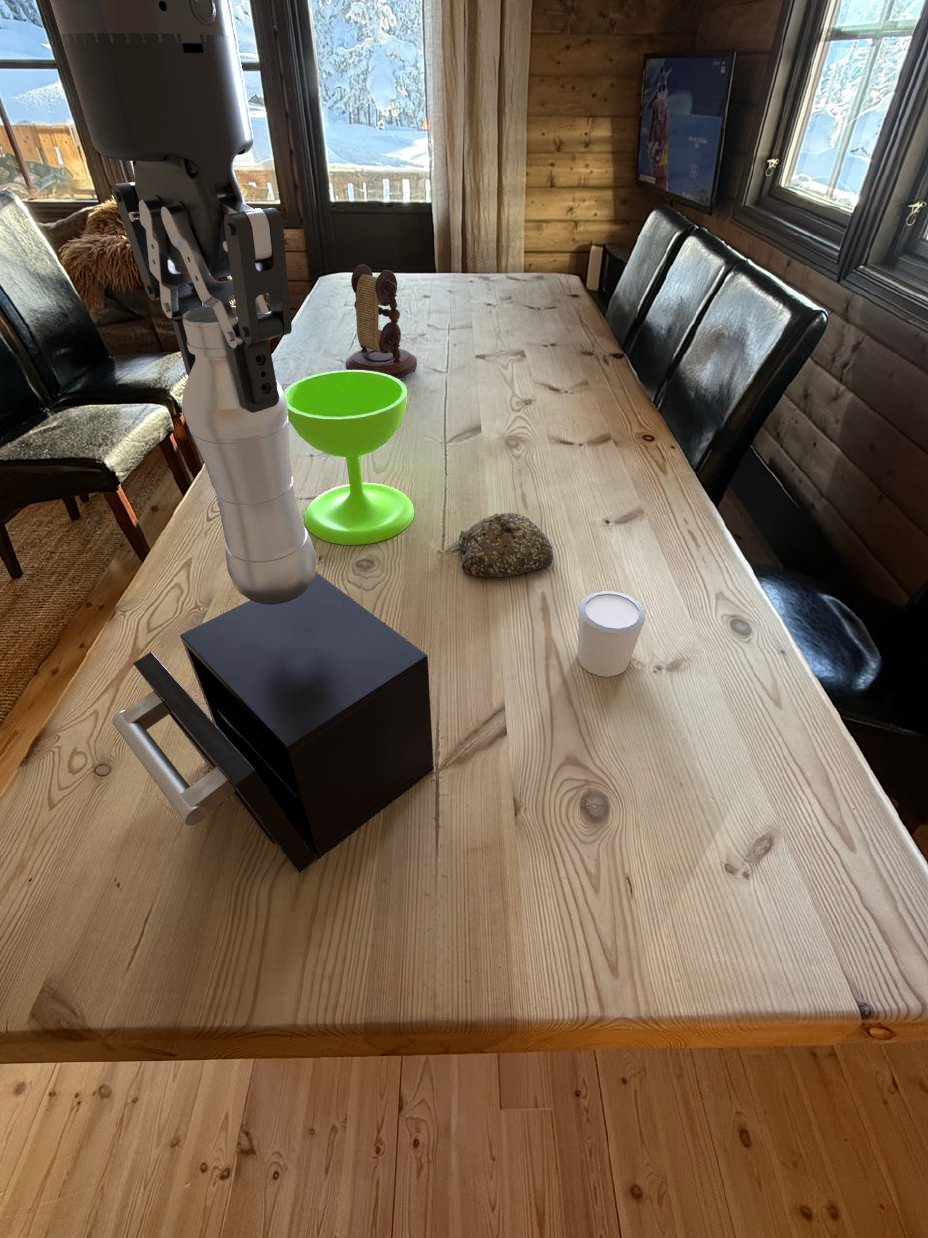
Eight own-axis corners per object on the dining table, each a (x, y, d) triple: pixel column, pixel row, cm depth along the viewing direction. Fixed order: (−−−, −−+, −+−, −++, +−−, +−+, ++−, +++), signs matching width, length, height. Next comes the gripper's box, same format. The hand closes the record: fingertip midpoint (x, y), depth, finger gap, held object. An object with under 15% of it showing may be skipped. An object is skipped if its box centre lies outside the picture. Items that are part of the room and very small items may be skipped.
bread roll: (560, 573, 85) (564, 541, 82) (467, 585, 83) (467, 553, 80) (533, 521, 94) (535, 490, 91) (448, 530, 92) (447, 499, 89)
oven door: (261, 908, 52) (183, 826, 42) (170, 786, 61) (86, 692, 50) (315, 860, 55) (255, 769, 44) (220, 749, 63) (150, 651, 53)
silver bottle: (311, 556, 54) (262, 293, 41) (329, 604, 49) (280, 323, 36) (230, 574, 52) (152, 304, 39) (241, 625, 47) (157, 337, 35)
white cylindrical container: (611, 690, 69) (621, 642, 65) (559, 659, 73) (565, 611, 68) (646, 657, 73) (658, 609, 69) (595, 629, 77) (603, 581, 72)
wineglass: (437, 509, 97) (433, 389, 85) (358, 559, 87) (341, 431, 76) (361, 476, 104) (348, 361, 93) (281, 518, 95) (254, 396, 83)
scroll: (331, 374, 137) (317, 268, 124) (382, 355, 145) (374, 254, 132) (381, 392, 130) (372, 282, 117) (431, 371, 138) (428, 266, 125)
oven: (318, 859, 55) (286, 747, 45) (223, 749, 64) (179, 634, 54) (434, 770, 62) (427, 655, 52) (333, 681, 70) (312, 568, 61)
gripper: (7, 27, 32) (124, 377, 43) (137, 19, 24) (239, 449, 35) (157, 31, 36) (228, 349, 47) (310, 24, 28) (353, 409, 39)
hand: (233, 391), depth 41 cm, fingers closed on silver bottle, 6 cm apart
